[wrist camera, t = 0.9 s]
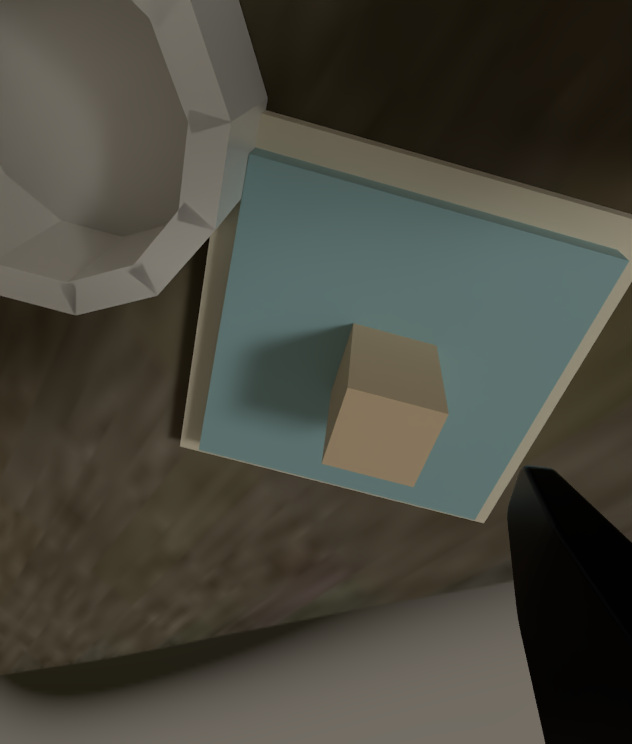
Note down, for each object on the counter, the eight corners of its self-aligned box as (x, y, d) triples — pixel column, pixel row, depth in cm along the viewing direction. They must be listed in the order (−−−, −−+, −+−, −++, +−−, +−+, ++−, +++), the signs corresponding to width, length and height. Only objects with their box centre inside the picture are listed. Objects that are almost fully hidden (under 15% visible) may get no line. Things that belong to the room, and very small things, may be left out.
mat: (653, 220, 18) (664, 228, 17) (481, 510, 25) (483, 523, 25) (234, 100, 17) (228, 104, 16) (185, 434, 25) (180, 446, 24)
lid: (617, 249, 18) (691, 319, 13) (471, 502, 24) (490, 603, 20) (255, 147, 17) (214, 187, 13) (205, 434, 24) (167, 523, 19)
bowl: (293, -46, 15) (259, -74, 11) (235, 281, 20) (197, 347, 16) (-71, -155, 15) (-253, -228, 10) (-32, 209, 20) (-142, 258, 16)
